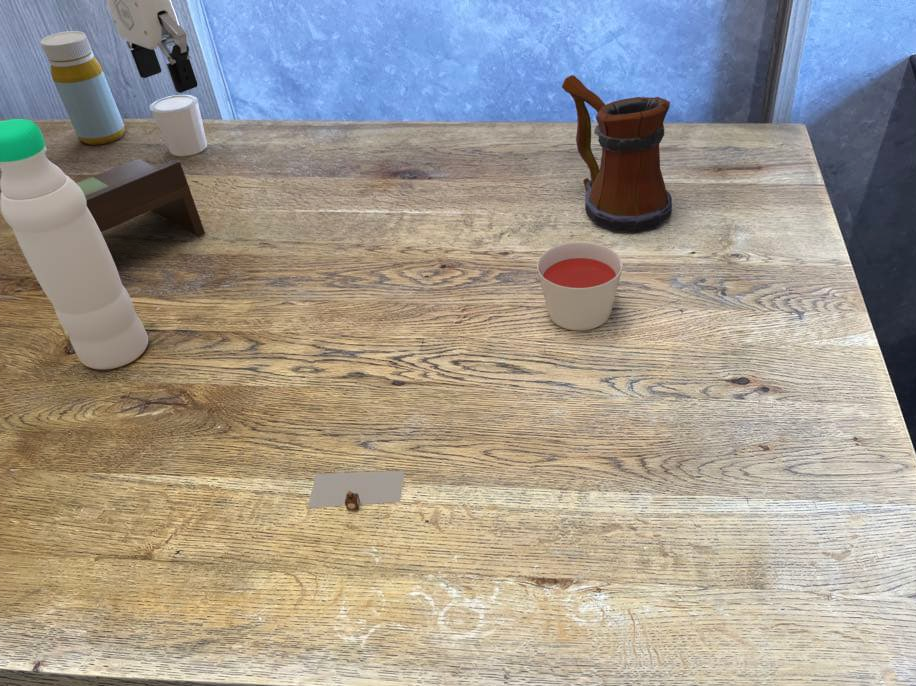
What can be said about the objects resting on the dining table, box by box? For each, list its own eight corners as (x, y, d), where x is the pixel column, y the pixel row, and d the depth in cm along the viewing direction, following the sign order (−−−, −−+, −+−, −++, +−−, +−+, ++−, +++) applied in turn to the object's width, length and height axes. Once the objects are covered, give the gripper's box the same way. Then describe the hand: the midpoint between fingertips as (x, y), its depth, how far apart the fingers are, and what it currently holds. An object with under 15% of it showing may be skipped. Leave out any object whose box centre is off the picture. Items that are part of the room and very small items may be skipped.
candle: (530, 297, 93) (527, 249, 88) (605, 284, 94) (607, 236, 90) (550, 344, 86) (549, 295, 82) (631, 329, 88) (634, 279, 83)
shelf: (41, 256, 103) (4, 183, 96) (156, 206, 112) (129, 136, 105) (88, 289, 97) (51, 214, 90) (205, 234, 106) (180, 161, 99)
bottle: (134, 135, 129) (96, 36, 119) (91, 150, 126) (48, 49, 116) (114, 123, 133) (76, 26, 123) (72, 137, 129) (29, 39, 119)
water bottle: (73, 376, 85) (-53, 148, 68) (90, 336, 90) (-23, 114, 73) (143, 368, 85) (36, 139, 69) (156, 328, 91) (59, 106, 74)
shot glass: (219, 139, 127) (205, 94, 122) (198, 159, 122) (183, 113, 117) (179, 137, 128) (164, 92, 123) (156, 156, 123) (139, 111, 119)
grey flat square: (404, 470, 73) (401, 456, 72) (394, 541, 68) (391, 527, 66) (316, 474, 73) (311, 459, 72) (298, 545, 68) (292, 530, 66)
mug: (535, 192, 111) (531, 81, 101) (600, 166, 116) (601, 58, 106) (624, 245, 100) (629, 126, 90) (691, 214, 105) (703, 99, 95)
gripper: (64, -51, 109) (115, 78, 121) (130, -33, 101) (178, 104, 112) (116, -64, 113) (161, 62, 125) (183, -47, 105) (225, 86, 116)
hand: (169, 82), depth 119 cm, fingers open, 9 cm apart
